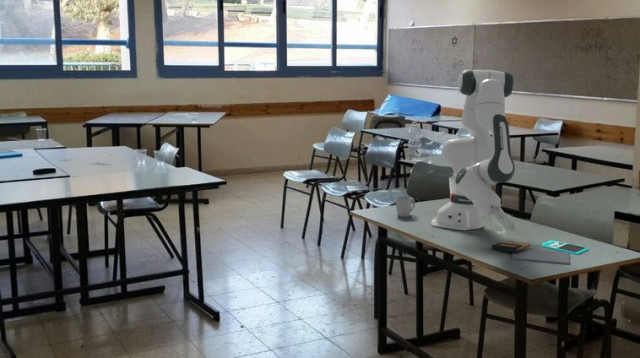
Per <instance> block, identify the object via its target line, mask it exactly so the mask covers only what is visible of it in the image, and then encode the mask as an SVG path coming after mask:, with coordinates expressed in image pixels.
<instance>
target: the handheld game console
mask: <svg viewBox="0 0 640 358" xmlns="http://www.w3.org/2000/svg"><path fill="white" fill-rule="evenodd" d="M541 247H542V248H546V249H550V250H553V251H559V252H568V254H572V255H576V256H578V255H581V254H582V253H585V252H587V251H586V250H588V251H589V250H590V249H589V247H584V246H579V245H575V244H571V243H567V242H561V241H557V240H552V239H550V240H548V241H545V242H542V244H541Z"/></svg>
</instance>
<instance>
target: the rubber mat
mask: <svg viewBox="0 0 640 358" xmlns="http://www.w3.org/2000/svg"><path fill="white" fill-rule="evenodd" d="M511 260H516V261H518V260H519V261H525V262H526V261H527V262H536V263H537V262H538V263H547V264H559V265H571V262H570V255H569V253H568V252H562V251H558V250H545V249H533V248H526V249H523V250H522V251H519V252H517V253H514V252H512V258H511Z"/></svg>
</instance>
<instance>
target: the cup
mask: <svg viewBox="0 0 640 358" xmlns="http://www.w3.org/2000/svg"><path fill="white" fill-rule="evenodd" d="M415 201H416V200H415V199H414V198H413V197H411V196H405V195H401V196H395V203H396V215H397V217H400V218H408V217H410V215H411V212H413V210H414V208H415V206H416V202H415Z"/></svg>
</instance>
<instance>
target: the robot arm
mask: <svg viewBox="0 0 640 358" xmlns="http://www.w3.org/2000/svg"><path fill="white" fill-rule="evenodd" d="M457 80H458V81H457V86H458V91H459V92H460V93H461V94H462V95H465V99H464V103H463V110H462V116H461V122H462V123H461V124H462V126H463V127H464V128H465V129H466V130H468V131H469V132H470V134H469V137H455V138H451V139H448V140H445V142H444V143H443V144H442V146H441V155H442V158H443V159H444V161H445V162H447V164H449V166H450V167H451V168H452V170H453V173H454V182H455V184H454V185H455V187H454V189H455V190H454V191H452V192H451V193H450V194H449V196H450V197H449V200H450V201H449V202H447V203H446V204H444V205H443V206H441V207H440V208H439V209H438V211H437V213H436V217H434V218H433V219H432V220H431V222H430V223H431V226H432V227H437V228H444V229H451V230H458V231H469V230H476V229H481V228H483V227H484V224H483V219H482V218H483V217H482V215H484V216H485V215H486V216H487V215H488V216H490V217H491V216H493V217H494V218H495V219H496V220H497V221H498V222H499V223H500V224H501V225H502V226H503V227H504V229H506V230H510V231H512V232H515V231H516V229H517V227H515V226H514V225H515V222H514V221H513V220H512V219H511V218H510V216H509V215H508V214H507V213H505V212H504V210H503V209H502V208H501V207H502V203H501V202H502V199H501V197H500V196H499V195H498V194H497V193H496V192H495V191H494V190H493V189H492V186H493V185H495V184H498V183H507V182H508V181H510V180H511V179H512V178H513V176H514V174H515V171H516V170H515V169H516V168H515V163H514V159H513V156H512V151H511V138H510V127H509V122H508V119H507V117H506V112H505V110H506V109H505V107H506V106H505V105H506V103H505V102H506V99H505V98H508V97H510V95H512V93H513V90H514V89H515V88H514V87H515V80H514V76H513V74H512V73H510V72H507V71H500V70H494V69H472V68H470V69H464V70H462V71H461V73H460V75H459V76H458V79H457ZM474 163H475V164H474ZM472 164H474V165H472Z"/></svg>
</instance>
